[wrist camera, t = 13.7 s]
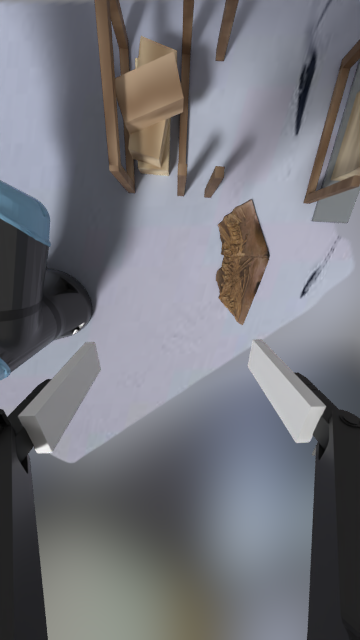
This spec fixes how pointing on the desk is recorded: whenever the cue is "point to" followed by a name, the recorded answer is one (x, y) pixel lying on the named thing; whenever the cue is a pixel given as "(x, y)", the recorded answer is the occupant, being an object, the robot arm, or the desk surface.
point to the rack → (111, 11)
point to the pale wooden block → (349, 147)
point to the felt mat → (342, 203)
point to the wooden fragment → (241, 260)
